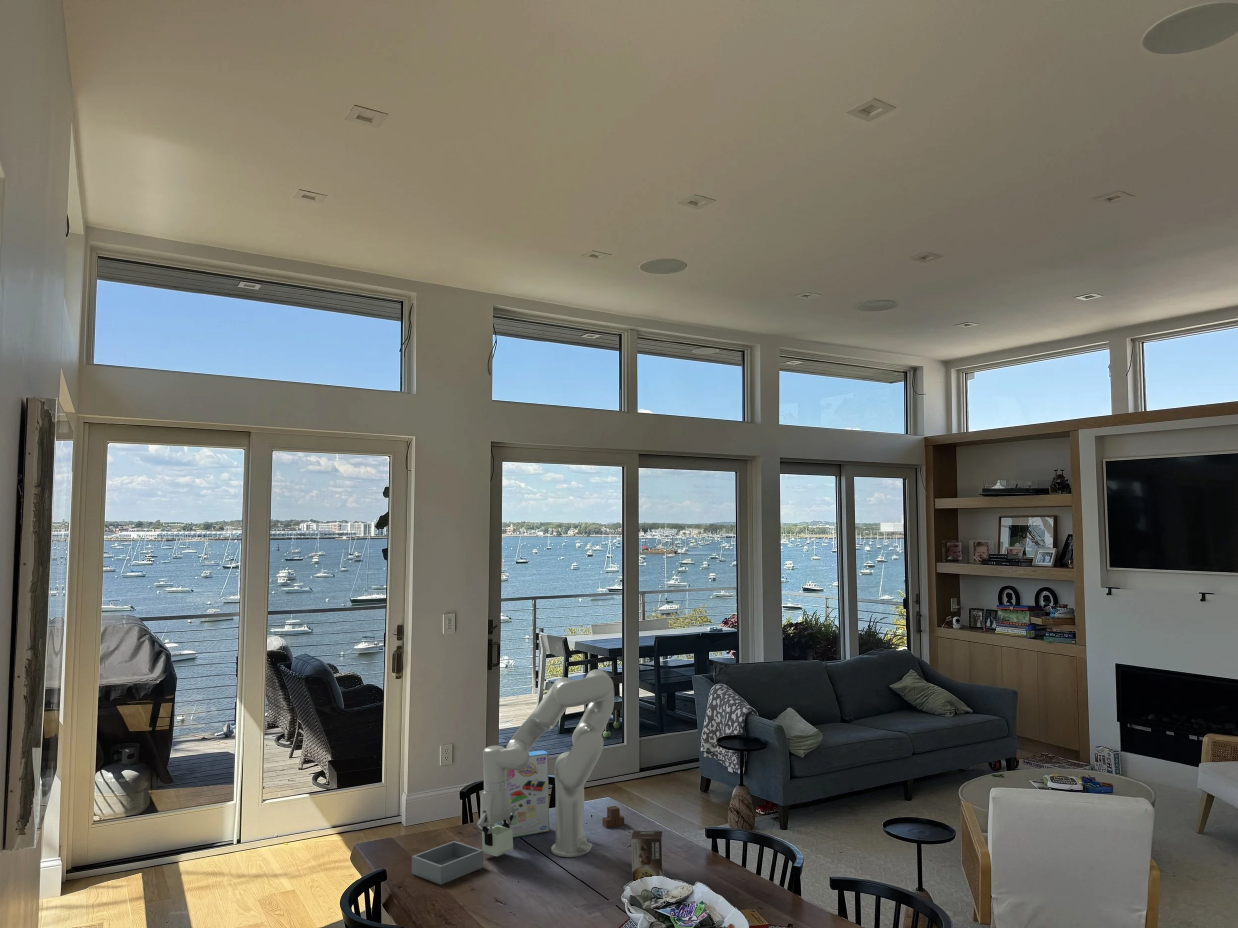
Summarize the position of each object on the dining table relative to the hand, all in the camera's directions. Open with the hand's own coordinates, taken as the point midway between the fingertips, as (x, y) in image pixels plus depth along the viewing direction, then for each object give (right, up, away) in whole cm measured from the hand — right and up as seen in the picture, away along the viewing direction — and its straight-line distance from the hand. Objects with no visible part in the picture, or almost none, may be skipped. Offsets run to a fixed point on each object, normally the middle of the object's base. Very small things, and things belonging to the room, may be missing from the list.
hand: (497, 840), depth 274 cm
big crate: (-14, -4, -11) cm, 19 cm away
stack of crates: (+38, -8, +27) cm, 48 cm away
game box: (+5, -7, +20) cm, 22 cm away
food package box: (+48, -2, -29) cm, 56 cm away
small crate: (0, -3, 0) cm, 3 cm away
